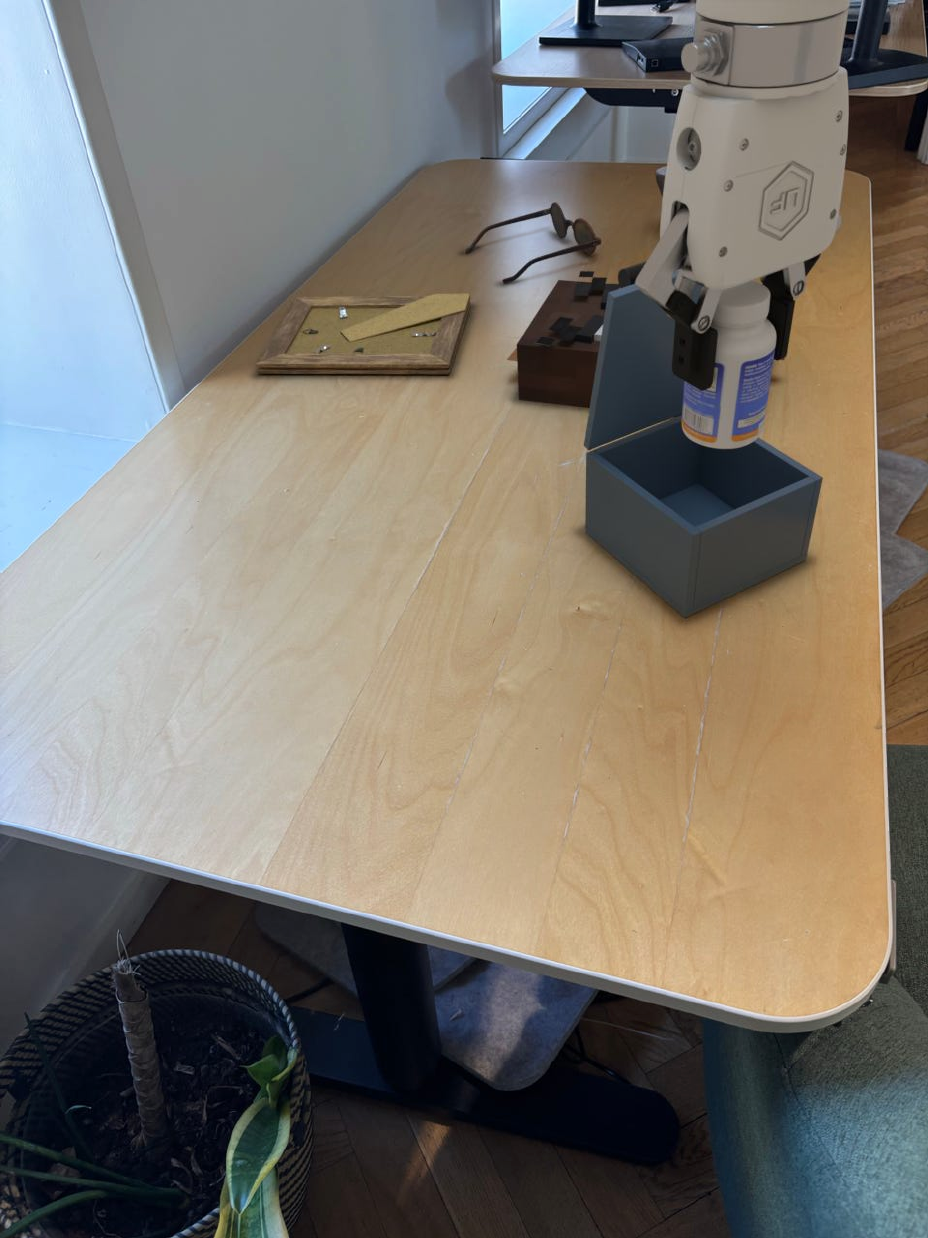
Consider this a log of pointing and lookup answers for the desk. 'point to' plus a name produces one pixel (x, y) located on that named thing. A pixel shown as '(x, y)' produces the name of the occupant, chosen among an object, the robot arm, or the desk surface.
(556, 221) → the eyeglasses
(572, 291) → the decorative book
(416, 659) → the desk surface
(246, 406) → the desk surface
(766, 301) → the pill bottle
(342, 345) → the picture frame
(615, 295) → the lid
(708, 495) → the grey open box
